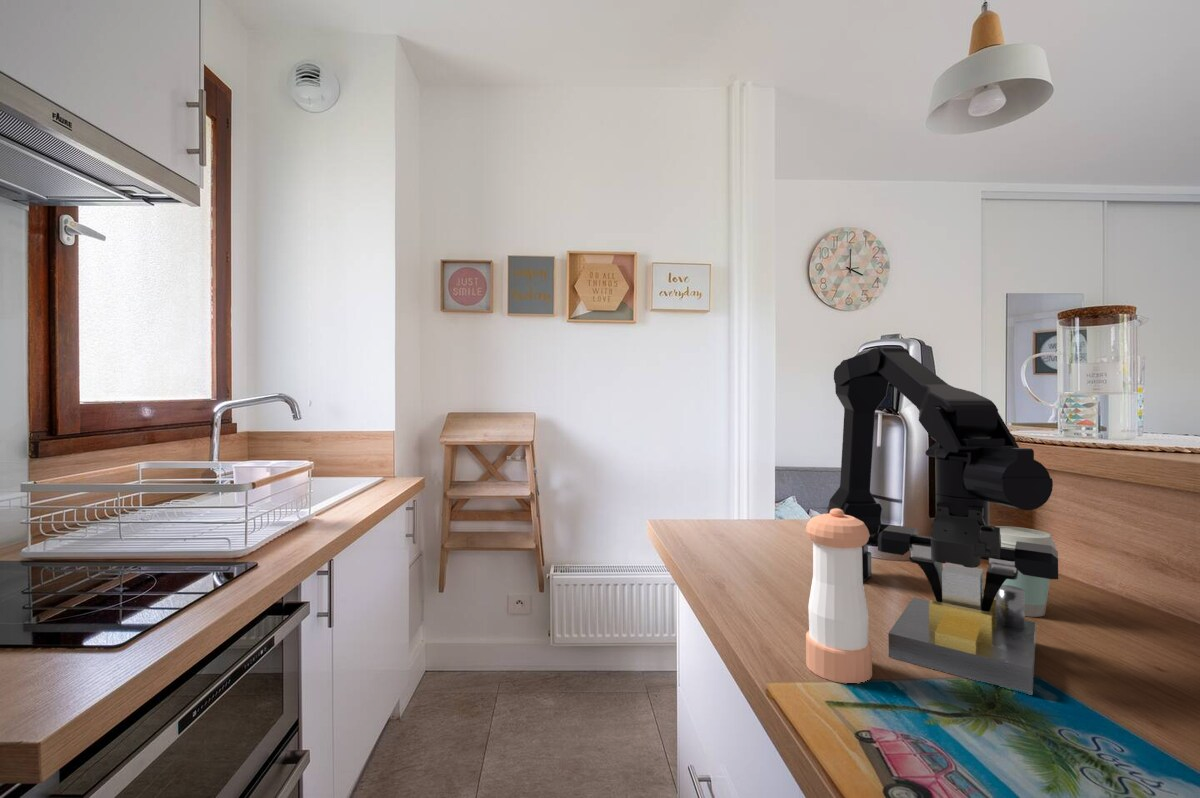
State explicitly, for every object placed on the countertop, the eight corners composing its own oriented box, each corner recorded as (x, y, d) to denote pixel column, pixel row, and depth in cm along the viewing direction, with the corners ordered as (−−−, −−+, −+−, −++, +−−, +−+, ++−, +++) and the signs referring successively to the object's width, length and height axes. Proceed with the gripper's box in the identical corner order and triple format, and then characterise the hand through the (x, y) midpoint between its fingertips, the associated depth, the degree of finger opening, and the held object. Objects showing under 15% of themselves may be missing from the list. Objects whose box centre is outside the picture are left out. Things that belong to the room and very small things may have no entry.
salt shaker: (840, 689, 59) (839, 517, 59) (792, 660, 66) (791, 506, 66) (886, 676, 62) (884, 511, 62) (836, 649, 69) (834, 501, 69)
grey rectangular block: (942, 633, 68) (941, 571, 68) (946, 622, 71) (946, 563, 71) (980, 642, 65) (980, 577, 65) (983, 630, 68) (983, 569, 68)
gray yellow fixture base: (888, 656, 66) (888, 597, 67) (913, 617, 79) (913, 566, 79) (1032, 696, 57) (1031, 627, 58) (1035, 644, 70) (1034, 587, 70)
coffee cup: (1071, 622, 77) (1070, 539, 77) (1004, 618, 78) (1003, 537, 78) (1035, 601, 85) (1034, 526, 85) (975, 597, 87) (974, 524, 87)
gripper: (866, 495, 68) (867, 616, 68) (1058, 514, 56) (1059, 662, 56) (886, 484, 77) (887, 592, 77) (1057, 499, 65) (1058, 627, 64)
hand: (962, 615), depth 68 cm, fingers closed on grey rectangular block, 4 cm apart
